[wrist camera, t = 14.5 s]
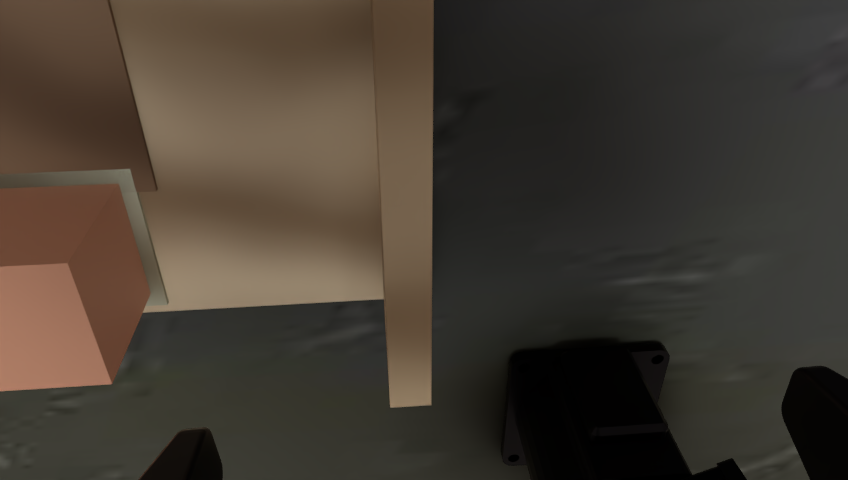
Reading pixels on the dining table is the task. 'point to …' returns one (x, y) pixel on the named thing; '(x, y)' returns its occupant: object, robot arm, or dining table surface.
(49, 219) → the coral block
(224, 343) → the dining table surface
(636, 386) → the robot arm
